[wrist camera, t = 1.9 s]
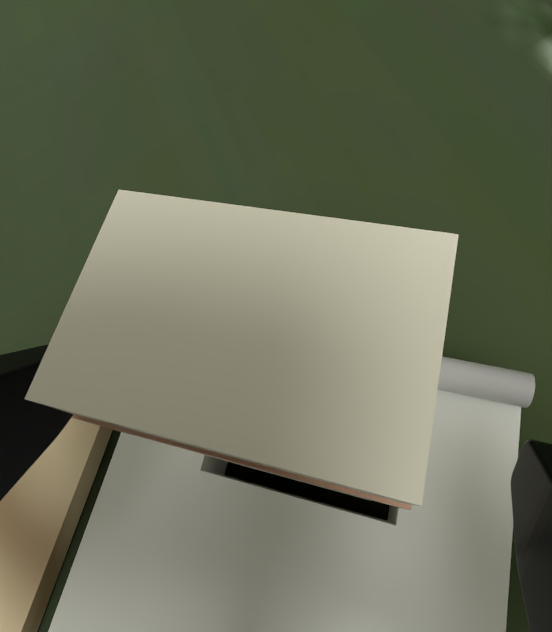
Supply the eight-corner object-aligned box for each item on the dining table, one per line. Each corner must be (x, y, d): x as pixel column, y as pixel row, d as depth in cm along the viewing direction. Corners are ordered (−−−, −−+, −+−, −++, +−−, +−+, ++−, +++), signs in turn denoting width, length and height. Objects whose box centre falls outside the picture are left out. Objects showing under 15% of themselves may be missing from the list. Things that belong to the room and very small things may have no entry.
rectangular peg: (368, 502, 16) (426, 512, 4) (244, 468, 17) (18, 401, 5) (383, 415, 17) (463, 230, 5) (266, 388, 18) (117, 186, 6)
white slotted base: (455, 821, 12) (501, 959, 9) (81, 665, 15) (-5, 719, 11) (493, 398, 16) (535, 369, 13) (192, 335, 19) (155, 297, 15)
